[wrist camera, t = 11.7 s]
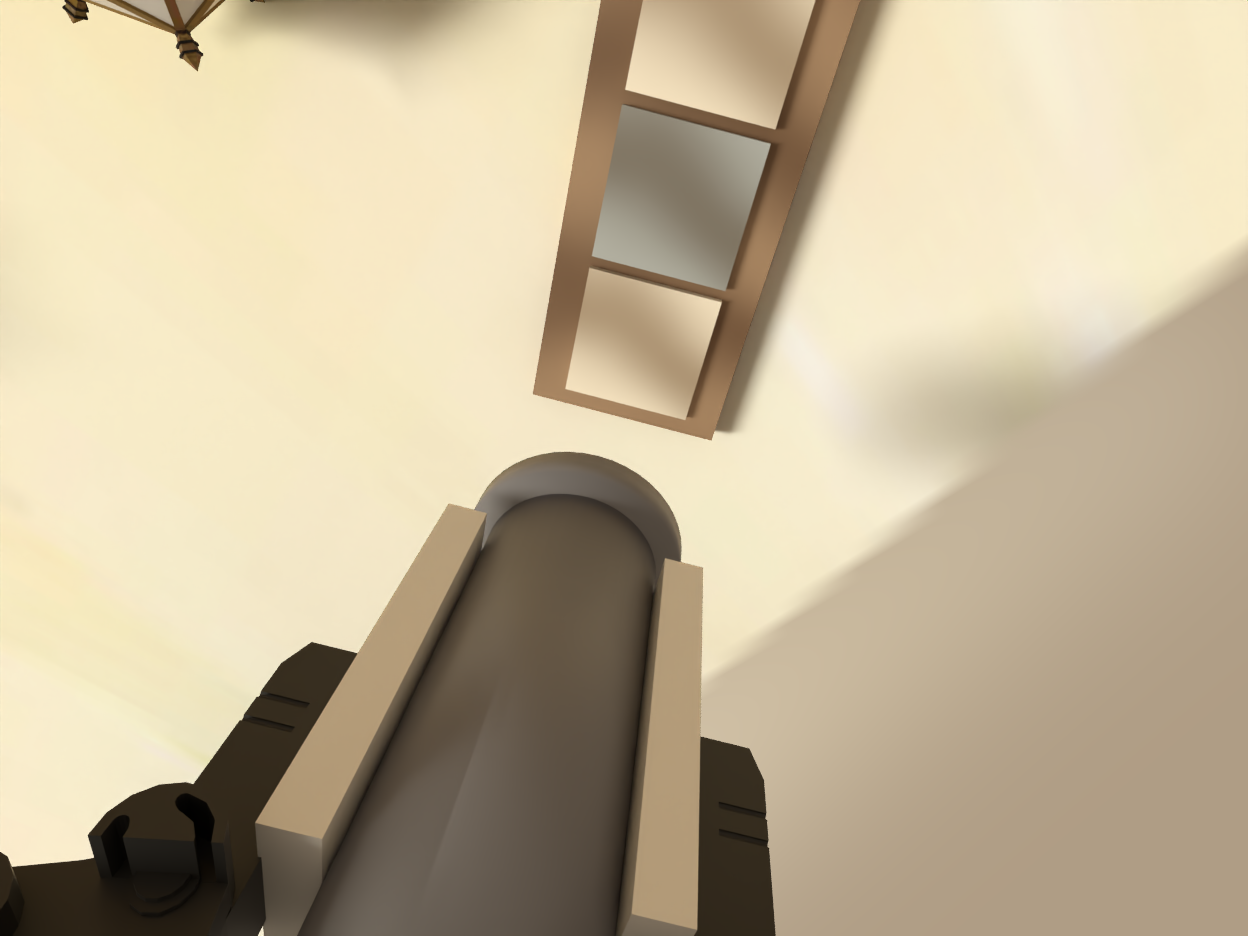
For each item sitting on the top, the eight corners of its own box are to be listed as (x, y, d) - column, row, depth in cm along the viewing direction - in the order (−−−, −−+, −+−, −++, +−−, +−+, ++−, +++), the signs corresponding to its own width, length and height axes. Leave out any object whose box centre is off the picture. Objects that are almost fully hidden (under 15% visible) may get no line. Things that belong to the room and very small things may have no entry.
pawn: (651, 644, 16) (549, 1622, 6) (462, 595, 16) (29, 1508, 6) (708, 484, 14) (698, 1632, 4) (487, 427, 14) (-150, 1439, 4)
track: (711, 430, 27) (711, 444, 26) (537, 385, 27) (531, 397, 26) (969, -339, 16) (985, -363, 15) (679, -420, 16) (676, -449, 15)
